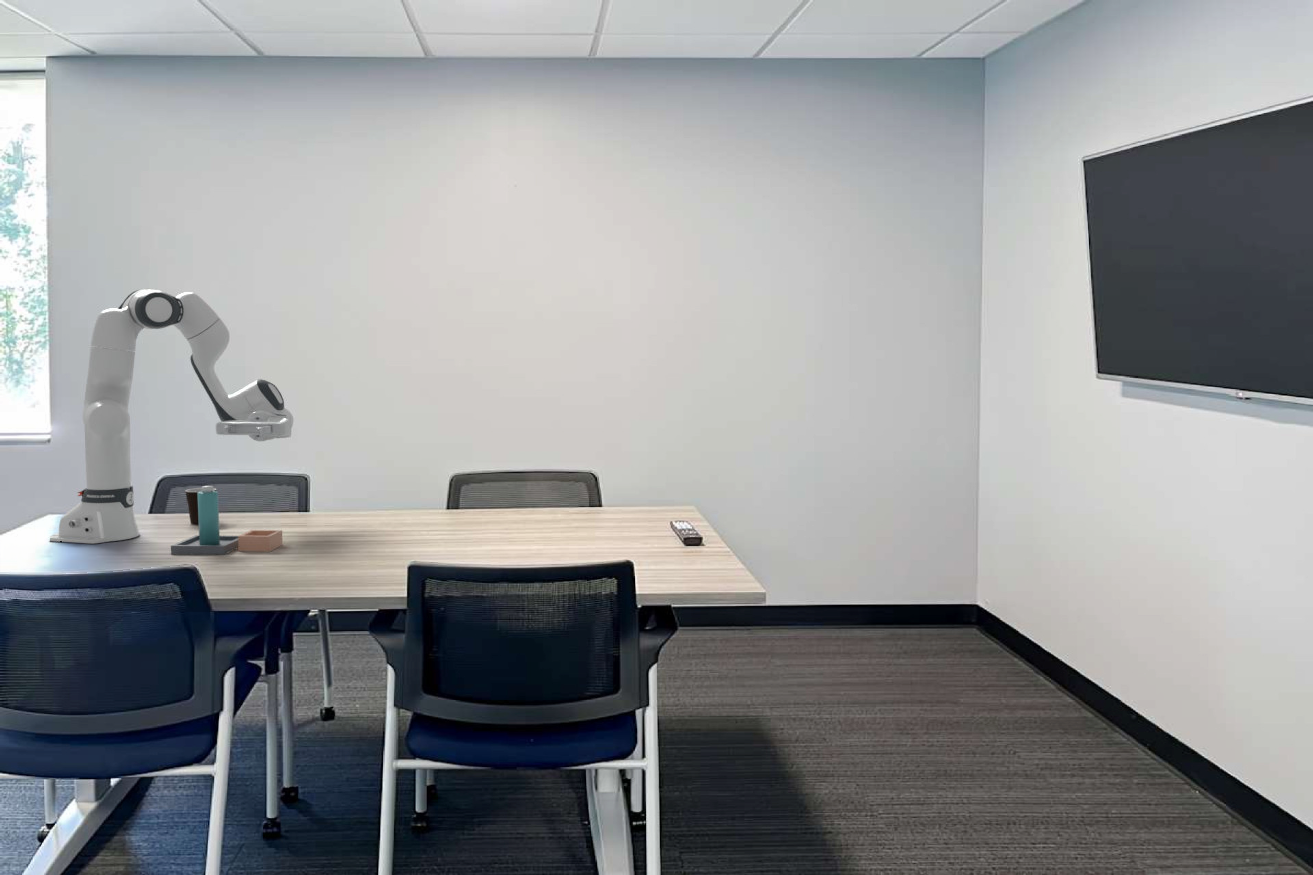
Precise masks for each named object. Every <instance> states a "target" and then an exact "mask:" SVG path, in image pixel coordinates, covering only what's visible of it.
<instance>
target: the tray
mask: <svg viewBox="0 0 1313 875" xmlns="http://www.w3.org/2000/svg"><path fill="white" fill-rule="evenodd" d="M238 536H239V535H220V544H219V545H200V544H199V534H196V535H193V536H191V537H188V538H186V539H184V540H181V541H179V542H176V543H174V544H172V545H170V554H171V555H207V554H210V555H212V554H224V555H226V553H227V554H228V552H229V553H230V552H232V550H233V551H235V550H237V549H238ZM236 548H237V549H236Z"/></svg>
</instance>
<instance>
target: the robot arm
mask: <svg viewBox="0 0 1313 875" xmlns="http://www.w3.org/2000/svg"><path fill="white" fill-rule="evenodd" d="M170 326H174V327H175V328H176V329H177V330H179V332H180V333H181V334H182V335H183V337H184V338H185V339H186V340H187V342H188V344H189V345H190V348H191V351H192V352H191V355H190V357H189V358H190V363H191V366H192V369H193V371H194V372H195V374H196V376H197V378H198V380H199V381H200V383H201V386H202V387H203V389H204V390H205V392H206V394H207V396H208V398H209V399H210V401H211V403H212V404H213V406H214V409H215V412H216V414H217V416H218V418H219V420H220V421H218V422H216V423H215V433H216V434H217V435H219V436H248V437H249V438H251V439H252V440H254V441H257V442H266V441H271V440H274V439H283V438H284V439H286V438H291V437H292V428H293V425H294V417H293V414H292V413H291V412H290V411H289V410H288V409H287V408H285V402H284V398H283V396H282V394H281V392H280V390H279V389H278V387H277V386H276V385H275V384H273V383H271V382H270V381H267V379H266V380H265V379H262V378H261V379H260V378H259V379H256V380H255V381H252V382H251V383H249V384H247V385H245V386H244V387H243V388H241V389H239V390H237V391H236V392H234V393H232V394H229V393H227V391H226V390H225V388H224V386H223V384H222V382H221V381H220V379H219V377H218V375H217V373H216V371H215V365H216V363H217V362H218V361H219V359H220V358H221V356H222V355H223V354H224V352H225V350H226V349H227V348H228V345H229V343H230V330H228V327H227V326H226V324H225V323H224V322H223V320H222V319H221V317H220V316H219V315H218V313H217V312H216V311H215V310H214V309H213V308H212V307H211V306H210V305H209V304H208V303H207V302H206V301H205V300H204V299H203V298H202V297H201V296H199V295H198V294H197V293H194V292H189V291H188V292H187V291H186V292H183V293H180V294H178V295H177V296H173V295H171V294H169V293H167V292H165V291H162V290H157V289H153V288H144V289H138V290H135V291H133V292H131V293H130V294H129V295H127V297H126V298H125V299H124V301H122V303H121V304H120V305H119V307H118V308H108V309H104V310H102V311H100V312H99V313H98V315H97V317H96V320H95V323H94V327H93V332H92V334H91V335H92V336H91V341H90V349H89V359H88V360H89V361H88V371H87V378H86V386H85V393H84V394H85V395H84V400H83V408H82V409H83V411H82V421H83V423H84V445H85V446H84V447H85V448H84V449H85V450H84V452H85V475H86V488H84V489H82V490H81V491H77V494H78V495H77V497H81V500H80V502H79V503H78V504H76V505H75V506H74V507H73V508H70V510H69V511H67V512H66V513H65V514H64V515H62V516H61V518H60V519H59V524H58V532H56V533H54V534H52V535H50V537H49V541H50V542H60V541H62V543H78V544H79V543H80V544H100V543H107V542H116V541H124V540H128V539H129V540H130V539H133V538H134V539H135V538H136V537H138V536H140V534H141V533H140V531H139V528H138V525H137V520H136V517H135V511H134V504H135V503H134V502H135V499H134V497H135V496H134V494H135V493H134V487H133V485H132V474H131V473H132V470H131V420H130V419H131V418H130V414H129V412H128V409H129V403H130V395H131V388H132V382H133V377H134V367H135V358H136V357H135V356H136V345H137V339H138V336H139V333H141V331H142V330H143V329H148V330H159V329H160V330H161V329H164V328H168V327H170Z"/></svg>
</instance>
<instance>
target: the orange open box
mask: <svg viewBox="0 0 1313 875" xmlns="http://www.w3.org/2000/svg"><path fill="white" fill-rule="evenodd" d="M237 536H238V548H237V549H238V550H237V551H238V552H272V551H274V550H276V549H278V548H279V547H281V546H283V530H280V529H279V530H275V529H273V530H270V529H250V530H249V531H246V532H244V533H242V534H240V535H237ZM275 548H276V549H275Z"/></svg>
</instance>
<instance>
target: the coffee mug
mask: <svg viewBox="0 0 1313 875" xmlns="http://www.w3.org/2000/svg"><path fill="white" fill-rule="evenodd" d="M213 491H217V488H214V487H213ZM184 492H185V496H186V502H187V503H186V504H187V509H188V514H189V520H190V524H191V525H197V526H199V518H198V492H202V487H196V488H189V489H186V490H185V491H184Z"/></svg>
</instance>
